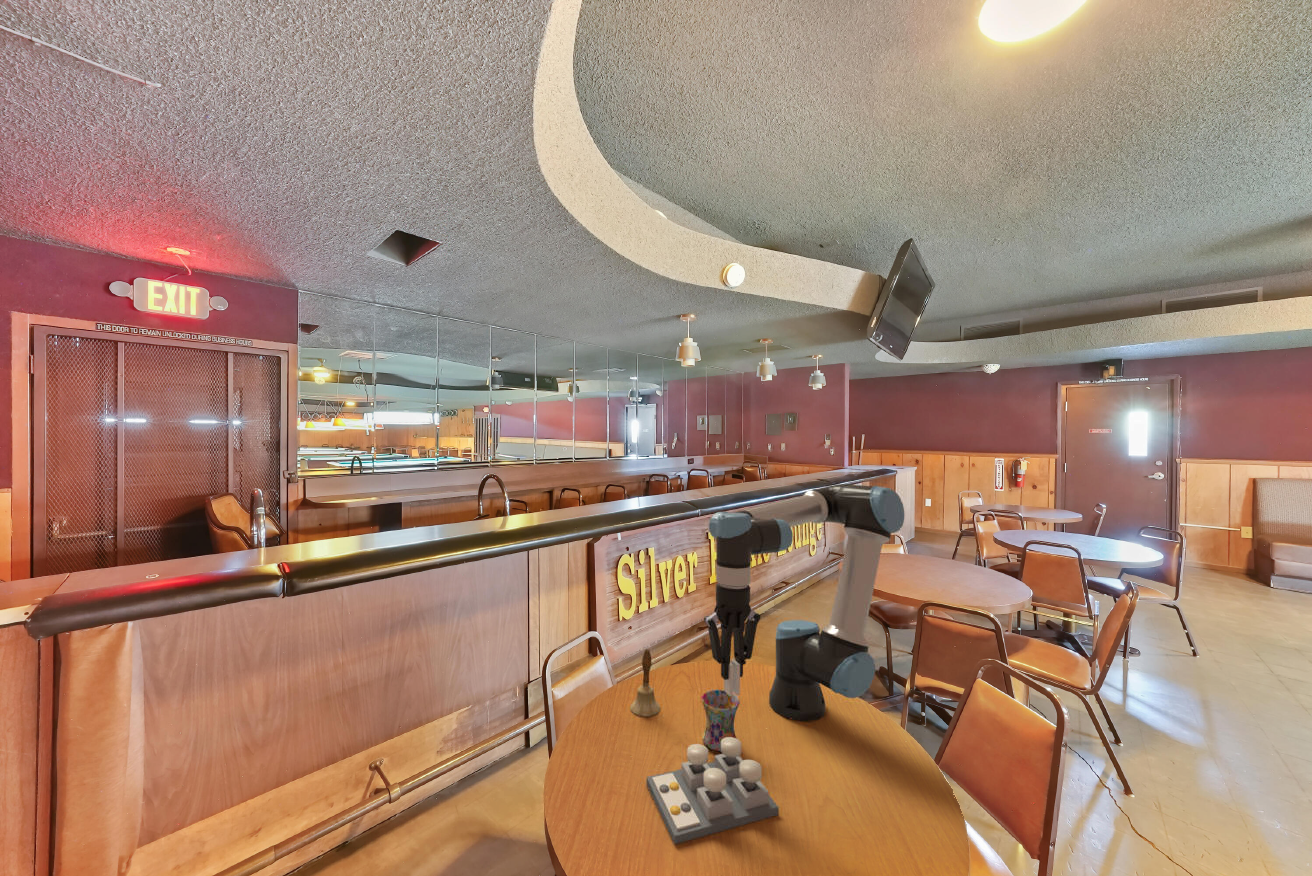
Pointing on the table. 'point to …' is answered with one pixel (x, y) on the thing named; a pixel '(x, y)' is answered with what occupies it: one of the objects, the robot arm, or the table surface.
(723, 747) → the button
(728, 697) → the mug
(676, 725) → the table surface
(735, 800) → the board
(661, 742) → the table surface
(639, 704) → the hand bell
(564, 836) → the table surface
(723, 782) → the button
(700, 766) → the button
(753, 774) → the button
